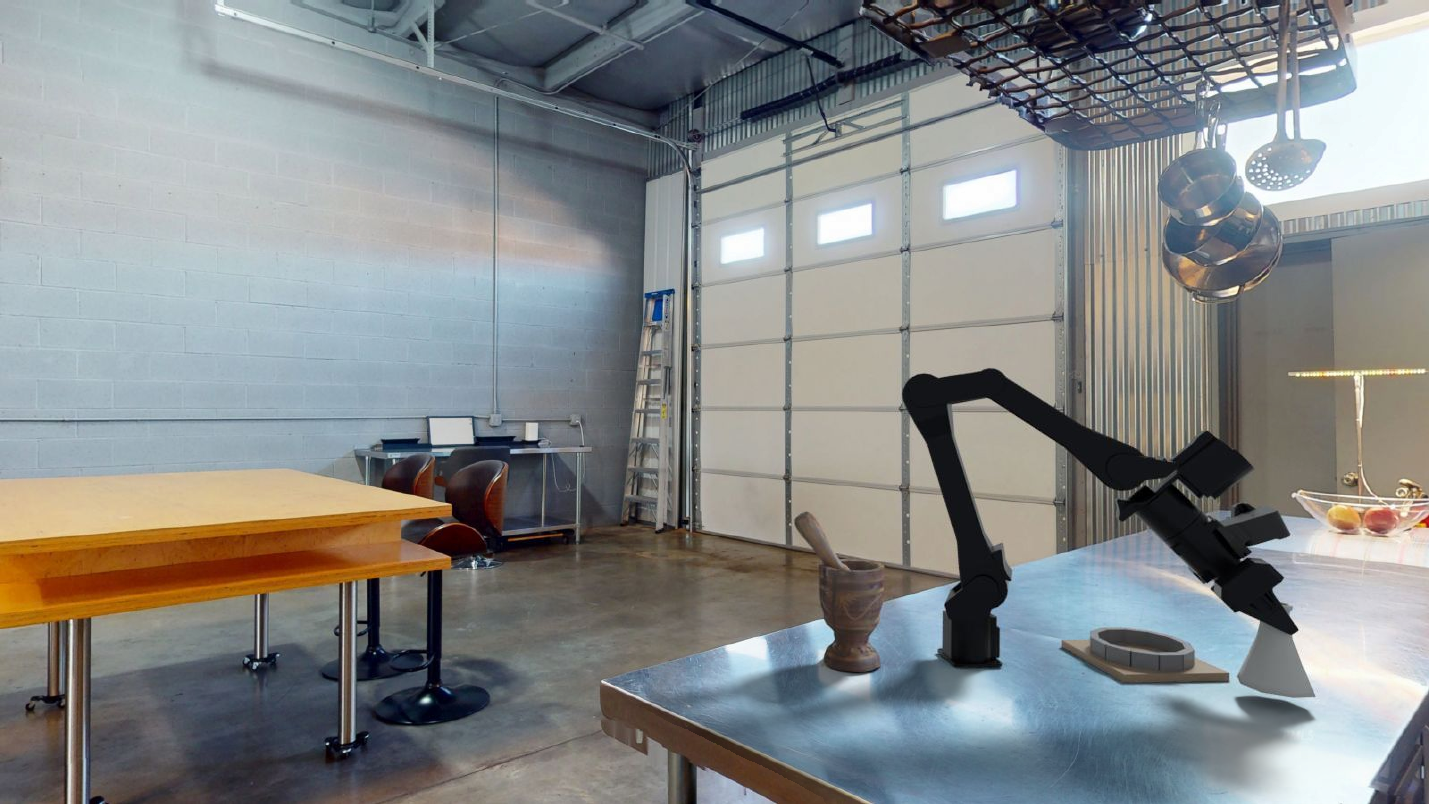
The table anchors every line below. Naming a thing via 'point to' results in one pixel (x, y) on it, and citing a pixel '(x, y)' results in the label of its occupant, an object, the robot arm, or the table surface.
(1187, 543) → the robot arm
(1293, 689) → the flask
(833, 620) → the mortar and pestle
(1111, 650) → the duct collar
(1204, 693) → the table surface
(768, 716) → the table surface
